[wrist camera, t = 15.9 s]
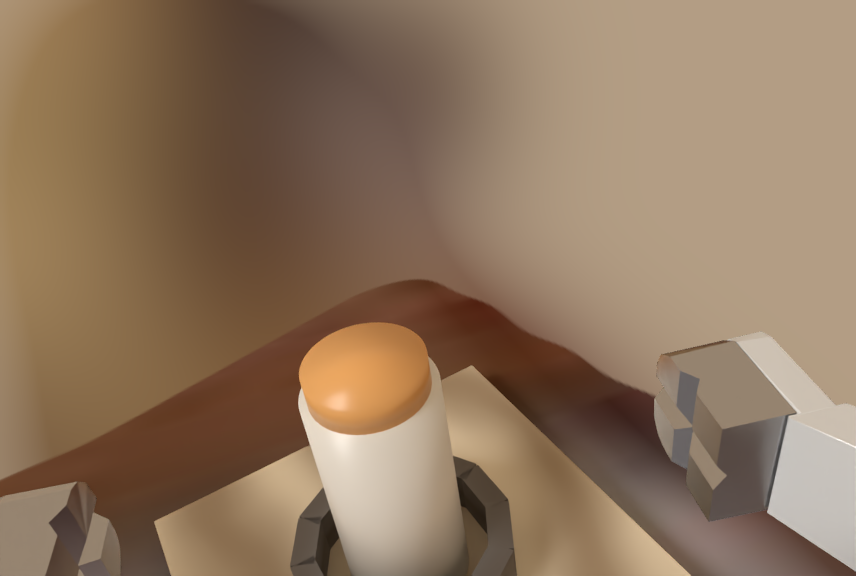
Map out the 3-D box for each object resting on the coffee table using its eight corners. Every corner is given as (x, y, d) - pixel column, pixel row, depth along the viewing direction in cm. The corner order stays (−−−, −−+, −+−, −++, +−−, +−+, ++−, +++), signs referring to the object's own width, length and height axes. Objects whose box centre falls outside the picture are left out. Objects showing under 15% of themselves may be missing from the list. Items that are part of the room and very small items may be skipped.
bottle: (385, 641, 28) (326, 439, 22) (333, 551, 32) (269, 355, 26) (492, 575, 30) (464, 369, 24) (430, 496, 34) (392, 300, 28)
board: (296, 954, 22) (269, 919, 20) (162, 537, 35) (139, 493, 34) (727, 631, 28) (736, 582, 26) (473, 381, 42) (468, 337, 40)
